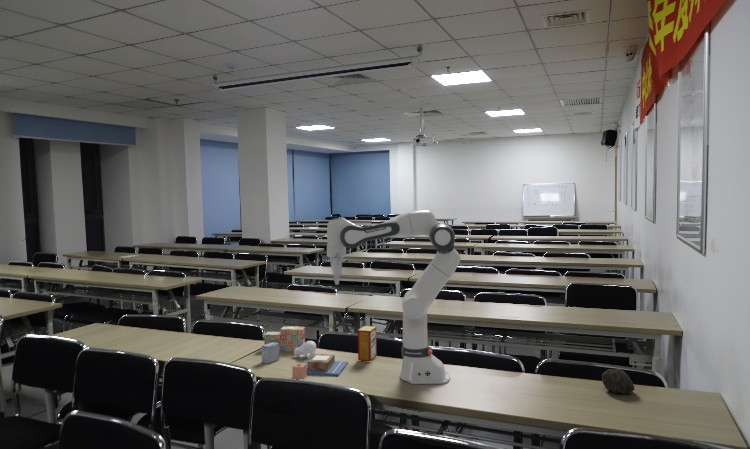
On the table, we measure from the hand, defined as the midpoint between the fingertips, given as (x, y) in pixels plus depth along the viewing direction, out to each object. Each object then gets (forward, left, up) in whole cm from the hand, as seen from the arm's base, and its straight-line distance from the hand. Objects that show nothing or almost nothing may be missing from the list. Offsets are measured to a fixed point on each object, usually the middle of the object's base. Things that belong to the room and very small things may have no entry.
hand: (336, 282), depth 223 cm
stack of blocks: (+39, -34, -43) cm, 67 cm away
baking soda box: (-9, -25, -43) cm, 50 cm away
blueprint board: (+10, -7, -43) cm, 44 cm away
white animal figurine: (+24, -23, -43) cm, 54 cm away
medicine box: (+39, -14, -43) cm, 60 cm away
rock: (-120, +3, -43) cm, 128 cm away
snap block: (+16, +7, -43) cm, 46 cm away
